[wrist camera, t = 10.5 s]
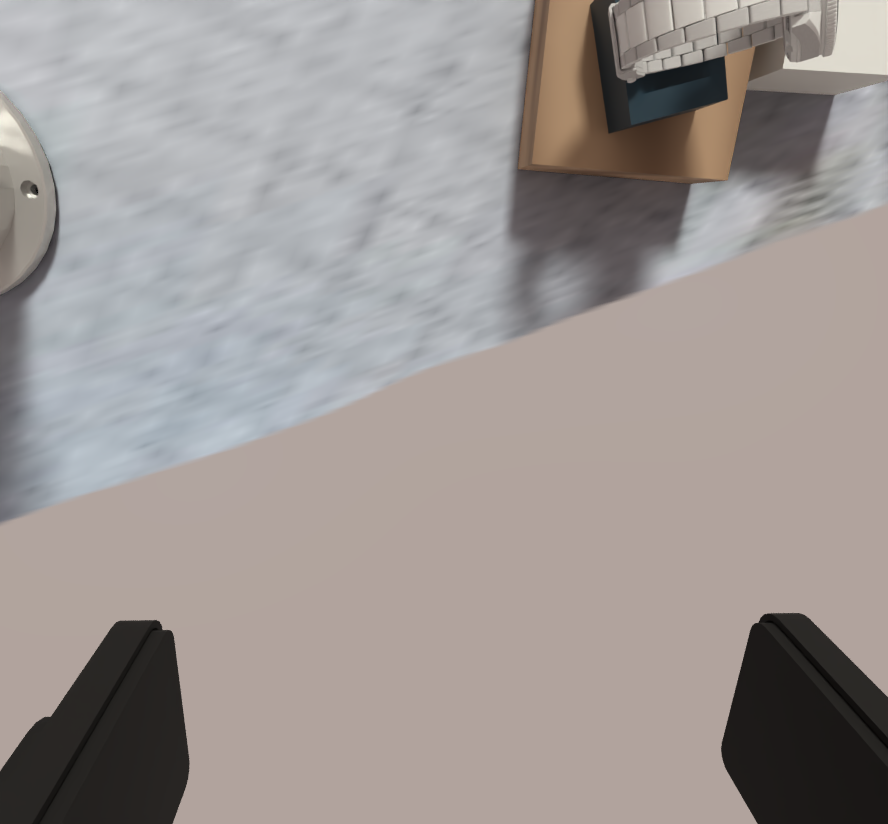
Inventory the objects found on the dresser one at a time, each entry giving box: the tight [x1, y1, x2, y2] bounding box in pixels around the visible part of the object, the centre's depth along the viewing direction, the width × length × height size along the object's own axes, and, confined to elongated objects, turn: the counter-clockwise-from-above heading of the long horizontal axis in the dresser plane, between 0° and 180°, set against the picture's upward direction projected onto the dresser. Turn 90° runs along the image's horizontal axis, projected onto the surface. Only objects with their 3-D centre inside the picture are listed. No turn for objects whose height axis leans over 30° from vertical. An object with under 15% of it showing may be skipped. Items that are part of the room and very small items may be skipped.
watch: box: [590, 0, 839, 134], centre depth 23 cm, size 6×8×11 cm
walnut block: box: [518, 0, 755, 184], centre depth 30 cm, size 10×10×4 cm
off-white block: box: [746, 0, 888, 95], centre depth 29 cm, size 6×6×5 cm
